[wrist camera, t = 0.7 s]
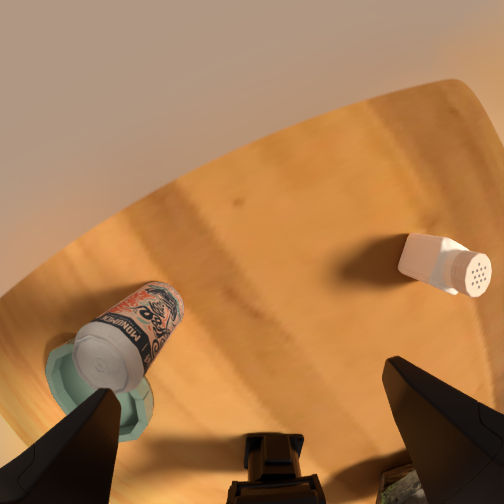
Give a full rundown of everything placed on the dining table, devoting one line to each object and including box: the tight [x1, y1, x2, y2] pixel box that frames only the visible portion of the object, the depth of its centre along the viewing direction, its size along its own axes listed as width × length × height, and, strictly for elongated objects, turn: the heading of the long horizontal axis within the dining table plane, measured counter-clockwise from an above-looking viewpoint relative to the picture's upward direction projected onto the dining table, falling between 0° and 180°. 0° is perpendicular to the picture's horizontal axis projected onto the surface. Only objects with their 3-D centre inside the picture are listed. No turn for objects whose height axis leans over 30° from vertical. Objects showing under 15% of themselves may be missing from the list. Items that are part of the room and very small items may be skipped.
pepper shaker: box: [398, 233, 492, 297], centre depth 20 cm, size 4×4×10 cm
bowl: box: [45, 337, 154, 443], centre depth 25 cm, size 13×13×3 cm
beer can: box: [72, 282, 184, 395], centre depth 19 cm, size 5×5×12 cm
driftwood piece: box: [376, 464, 428, 504], centre depth 23 cm, size 28×13×15 cm
